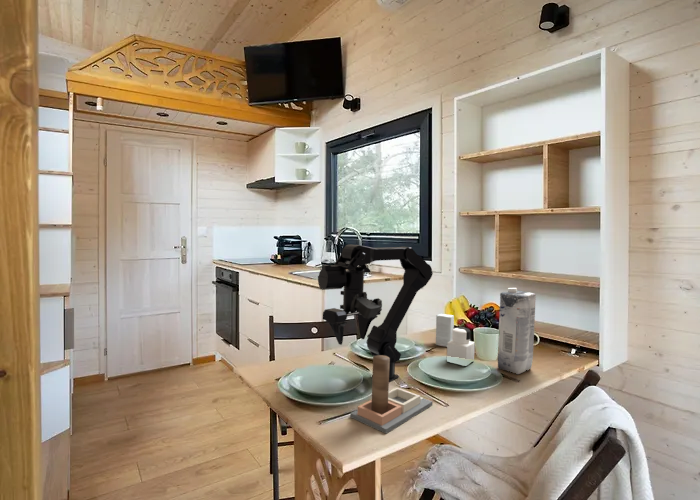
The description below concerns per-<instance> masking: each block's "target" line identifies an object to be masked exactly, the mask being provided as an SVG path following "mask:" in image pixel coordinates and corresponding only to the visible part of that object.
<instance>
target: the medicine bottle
mask: <svg viewBox="0 0 700 500" xmlns="http://www.w3.org/2000/svg"><path fill="white" fill-rule="evenodd" d="M447 356H451V357H459V358H465V359H473V360H474V361H475V341H472V340H471V330H470V328H468V327H464V326H455V327H454V328H453V329H452V340H451V341H449V342H448V343H447V347H446V357H447Z"/></svg>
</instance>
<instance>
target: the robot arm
mask: <svg viewBox="0 0 700 500" xmlns="http://www.w3.org/2000/svg"><path fill="white" fill-rule="evenodd" d="M397 260H399V262H400V266H401V267H402V269H403V270H404V273H403V276H402V277H403V285H402V287H401V288H400V290H399V292H398V294H397V295H396V297H395V299H394V301H393V303H392V305H391V307H390V308H389V310H388V312H387V314H386V316H385V318H384V319H383V322H382V323H381V324H380V325H378V326H376V325H373V326H372V327H371V330H370V332H369V333H368V330H369V327H370V325H371V323H372V321H374V320H375V319H377V318H378V316H381V312H382V310H383V309H382V307H383V300H382V299H380V298H379V297H377V298H374V299H372V298H371V299H369V298H368V293H367V291H364V286H365V285H364V281H365V273H368V274H369V273H371V271H372V270H371V269H369V267H367V265H368V264H371V263H373V262H377V261H397ZM433 274H434V272H433V269H432V266H431V264H429V263H428V262H427V261H426V260H425V259H424V258H422V256H420V255H419V254H417V252H416V251H415V250H414V249H413V248H412V247H410V246H399V247H397V246H394V247H392V246H391V247H371V246H365V245H360V244H346V245H345V246H344V247H343V248H342V250H341V253H340V255H339V257H338V258H337V260H336V262H335V263H334V265H328V264H323V265H321V269H320V271H319V273H318V276H317V284H318V286H319V289H321V290H322V291H324V290H341V289H343V290H341V291H340V295H341V296H343V297H342V298H343V301H342V304H339V308H336V307H333V308H326V309H324V310H323V311H322V320H324V321H325V322H326V323H328V324H329V326H330V327H331V330H332V332H333V334H334V337H335V339H336V340H337V343H338V345H340V346H342V345H343V341H344V330H345V329H344V328H345V326H346V325H347V324H348V322H347V321H346V320H347V319H348V317H351V316H357V322H358V328H359V335H360V339H361V340H365V338H366V337H367V339H366V347H367V349H368V351H369V352H370V355H371V356H373V357H374V356H377V355H383V356H387V357H389V358H390V364H389V383H390V382H391V381H395V380H396V379H398V378H399V377H400V376H399V375H398V374H395V370H396V363H397V362H400V360H401V356H402V354H401V352H399V350H398V349H397V348H396V347H395V346H396V344H397V341H398V340H397V339H398V338H397V331H398V329H399V327H400V325H401V323H402V322H403V320H404V318H405V316H406V314H407V312H408V310H409V309H410V306H411V305H412V303H413V300H414V298H415V297H416V296H417V293H418V292H419V291H420V290H421V289H423V288H424V287H425V286H427V284H428V283H429V281H430V280H431V279H432V277H433ZM367 333H368V334H367Z"/></svg>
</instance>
